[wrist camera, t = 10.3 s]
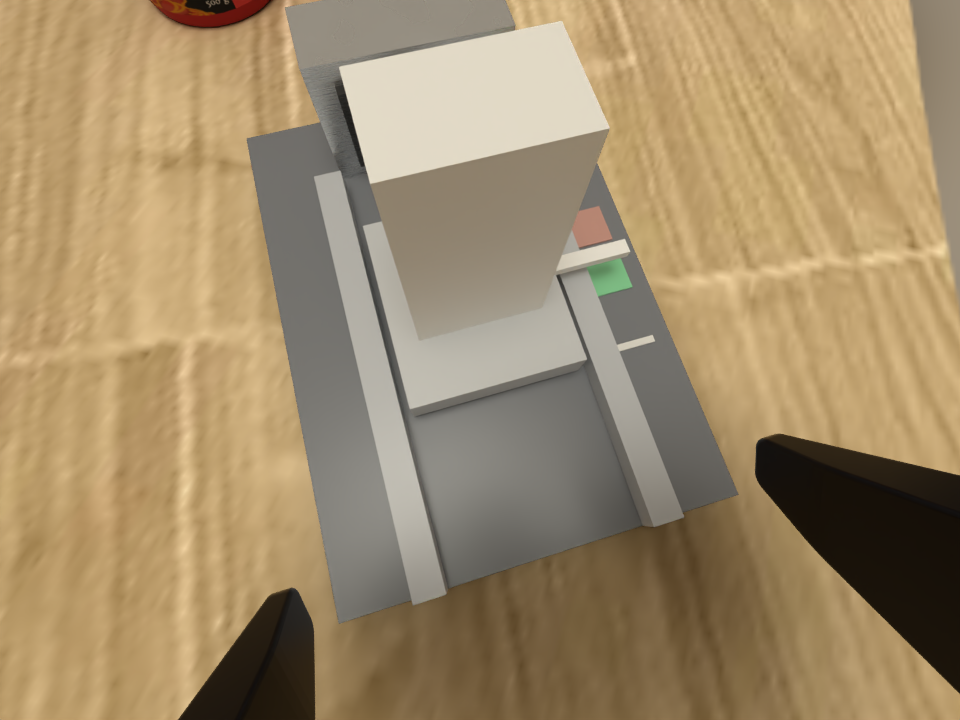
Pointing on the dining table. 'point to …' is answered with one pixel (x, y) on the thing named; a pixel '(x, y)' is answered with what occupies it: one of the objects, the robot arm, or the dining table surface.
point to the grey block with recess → (375, 49)
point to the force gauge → (478, 207)
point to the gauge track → (469, 405)
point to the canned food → (209, 11)
